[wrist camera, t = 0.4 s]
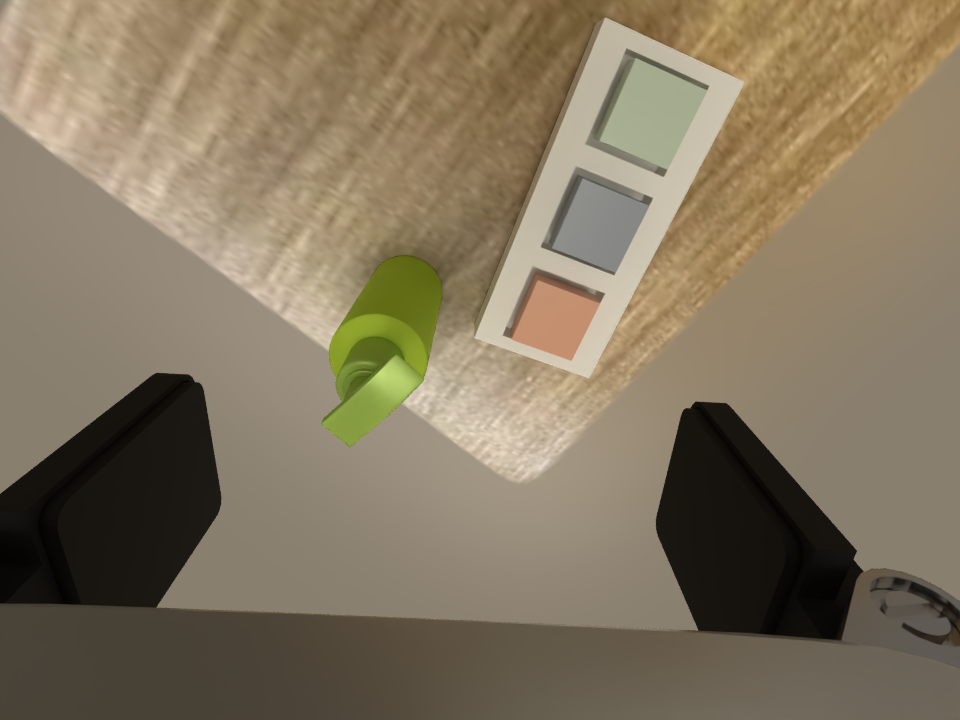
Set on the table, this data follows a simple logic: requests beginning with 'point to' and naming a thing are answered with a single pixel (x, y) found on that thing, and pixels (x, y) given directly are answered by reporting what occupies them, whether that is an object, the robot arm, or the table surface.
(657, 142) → the sage button
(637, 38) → the button panel
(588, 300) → the terracotta button
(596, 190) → the slate button
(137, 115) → the table surface
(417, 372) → the soap dispenser
